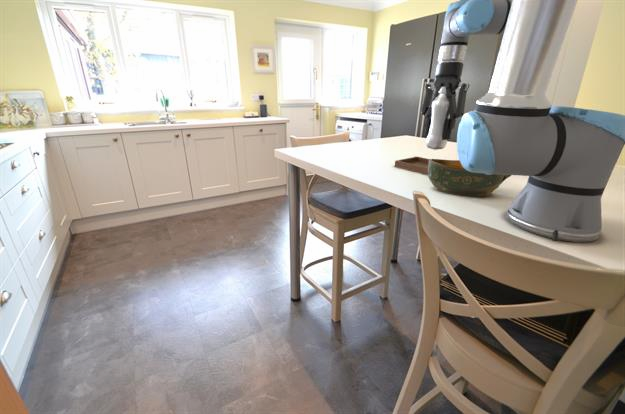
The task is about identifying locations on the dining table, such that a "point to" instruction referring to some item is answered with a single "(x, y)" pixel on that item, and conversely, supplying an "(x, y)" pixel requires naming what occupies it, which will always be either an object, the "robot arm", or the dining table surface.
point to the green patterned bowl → (461, 179)
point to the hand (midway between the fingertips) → (436, 138)
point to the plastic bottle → (438, 121)
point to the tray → (414, 164)
